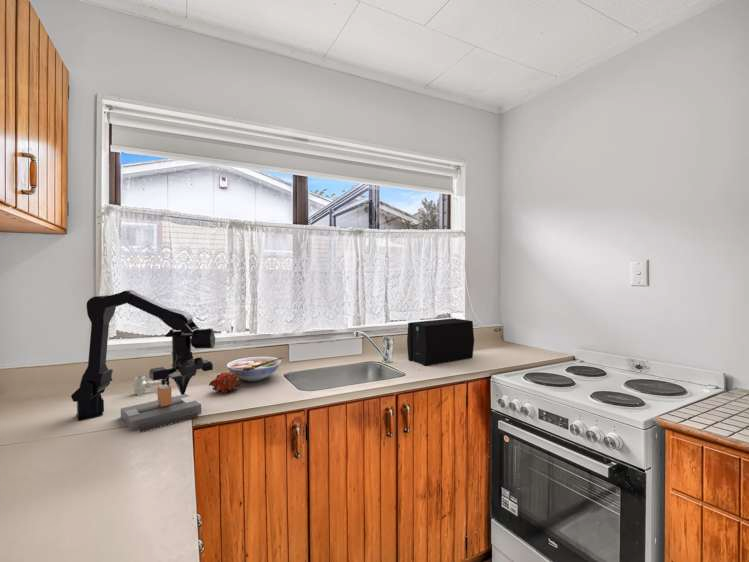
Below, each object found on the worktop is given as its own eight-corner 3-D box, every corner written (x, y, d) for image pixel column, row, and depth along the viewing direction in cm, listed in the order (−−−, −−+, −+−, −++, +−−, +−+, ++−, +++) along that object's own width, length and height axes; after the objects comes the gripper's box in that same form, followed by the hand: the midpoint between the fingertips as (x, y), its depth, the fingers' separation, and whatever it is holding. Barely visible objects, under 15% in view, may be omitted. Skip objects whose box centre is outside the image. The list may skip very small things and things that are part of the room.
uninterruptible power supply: (407, 360, 197) (406, 322, 196) (455, 352, 213) (455, 317, 213) (426, 366, 182) (426, 326, 182) (476, 358, 199) (476, 321, 199)
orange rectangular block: (161, 406, 121) (161, 389, 121) (157, 403, 124) (157, 386, 124) (171, 404, 123) (171, 386, 123) (167, 401, 126) (167, 384, 126)
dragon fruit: (244, 394, 148) (211, 402, 145) (242, 377, 154) (211, 384, 151) (240, 381, 143) (207, 388, 139) (239, 364, 149) (207, 371, 146)
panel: (131, 431, 111) (130, 420, 110) (120, 417, 121) (120, 407, 121) (201, 413, 124) (201, 403, 124) (186, 402, 135) (186, 393, 135)
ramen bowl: (255, 369, 180) (254, 352, 179) (293, 374, 170) (293, 357, 170) (212, 383, 157) (212, 364, 157) (254, 391, 147) (253, 370, 147)
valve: (133, 397, 141) (169, 391, 148) (133, 380, 141) (169, 374, 148) (133, 392, 147) (168, 387, 153) (133, 376, 147) (167, 371, 153)
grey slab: (141, 432, 110) (141, 426, 110) (126, 413, 124) (126, 409, 124) (197, 417, 121) (197, 412, 121) (178, 401, 136) (178, 397, 136)
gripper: (157, 357, 115) (158, 407, 115) (218, 348, 128) (219, 393, 128) (148, 351, 123) (149, 398, 123) (206, 344, 136) (207, 386, 136)
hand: (182, 394), depth 127 cm, fingers closed
